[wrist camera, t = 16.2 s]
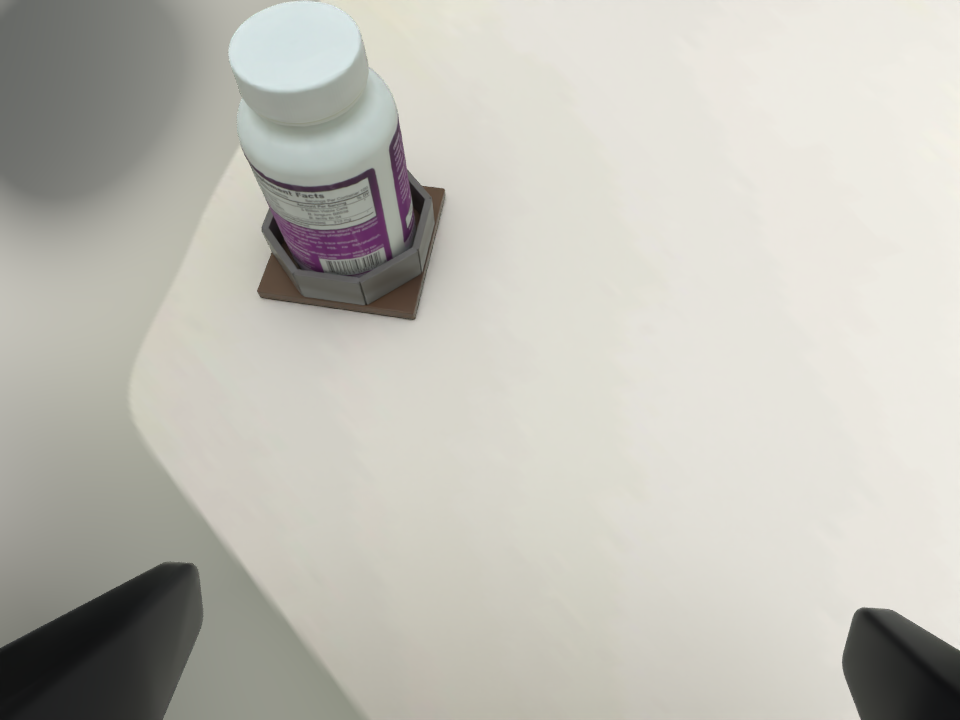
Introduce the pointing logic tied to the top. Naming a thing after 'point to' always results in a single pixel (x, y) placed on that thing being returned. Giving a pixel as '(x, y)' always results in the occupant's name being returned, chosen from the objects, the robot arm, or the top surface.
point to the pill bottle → (322, 138)
